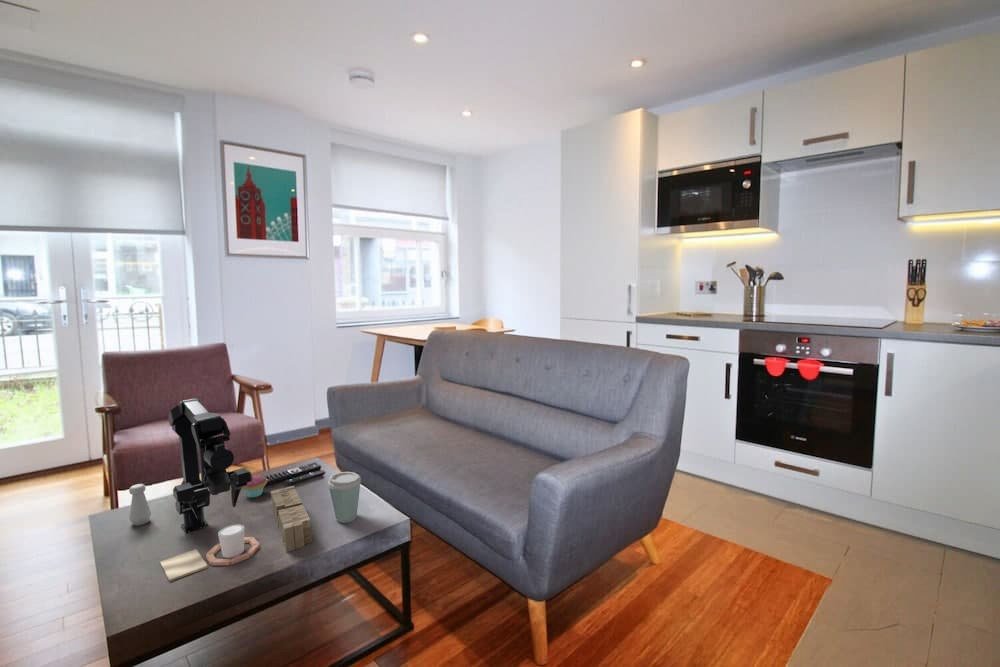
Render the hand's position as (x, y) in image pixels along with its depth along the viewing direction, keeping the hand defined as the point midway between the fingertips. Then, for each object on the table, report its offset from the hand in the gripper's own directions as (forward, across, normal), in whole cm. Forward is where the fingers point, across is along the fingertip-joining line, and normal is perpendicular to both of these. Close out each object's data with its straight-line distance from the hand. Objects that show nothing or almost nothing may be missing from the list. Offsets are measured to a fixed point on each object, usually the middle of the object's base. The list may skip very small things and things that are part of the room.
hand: (216, 512), depth 140 cm
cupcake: (+15, +22, +37) cm, 45 cm away
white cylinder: (+14, +4, 0) cm, 15 cm away
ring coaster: (+14, +4, 0) cm, 15 cm away
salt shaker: (+15, -13, +42) cm, 47 cm away
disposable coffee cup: (+14, +37, -5) cm, 40 cm away
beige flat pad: (+14, -8, +4) cm, 17 cm away
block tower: (+15, +21, +3) cm, 26 cm away
